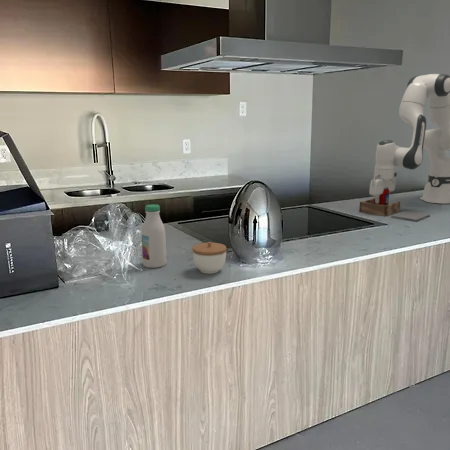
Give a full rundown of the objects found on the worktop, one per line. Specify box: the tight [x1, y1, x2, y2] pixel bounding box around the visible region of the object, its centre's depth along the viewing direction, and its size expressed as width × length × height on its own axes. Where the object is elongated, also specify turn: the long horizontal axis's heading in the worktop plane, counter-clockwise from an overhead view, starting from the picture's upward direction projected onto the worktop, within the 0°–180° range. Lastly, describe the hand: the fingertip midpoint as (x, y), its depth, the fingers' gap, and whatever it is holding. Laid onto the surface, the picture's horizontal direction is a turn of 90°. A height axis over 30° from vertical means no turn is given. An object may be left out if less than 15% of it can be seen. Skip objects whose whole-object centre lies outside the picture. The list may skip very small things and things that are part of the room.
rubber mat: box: [390, 210, 431, 223], centre depth 219 cm, size 15×12×1 cm
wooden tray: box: [358, 197, 401, 217], centre depth 230 cm, size 14×14×5 cm
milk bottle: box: [141, 204, 167, 269], centre depth 151 cm, size 8×8×20 cm
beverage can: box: [374, 188, 390, 205], centre depth 230 cm, size 7×7×12 cm
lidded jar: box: [191, 241, 227, 275], centre depth 147 cm, size 11×11×9 cm
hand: (381, 202), depth 230 cm, fingers open, 7 cm apart
